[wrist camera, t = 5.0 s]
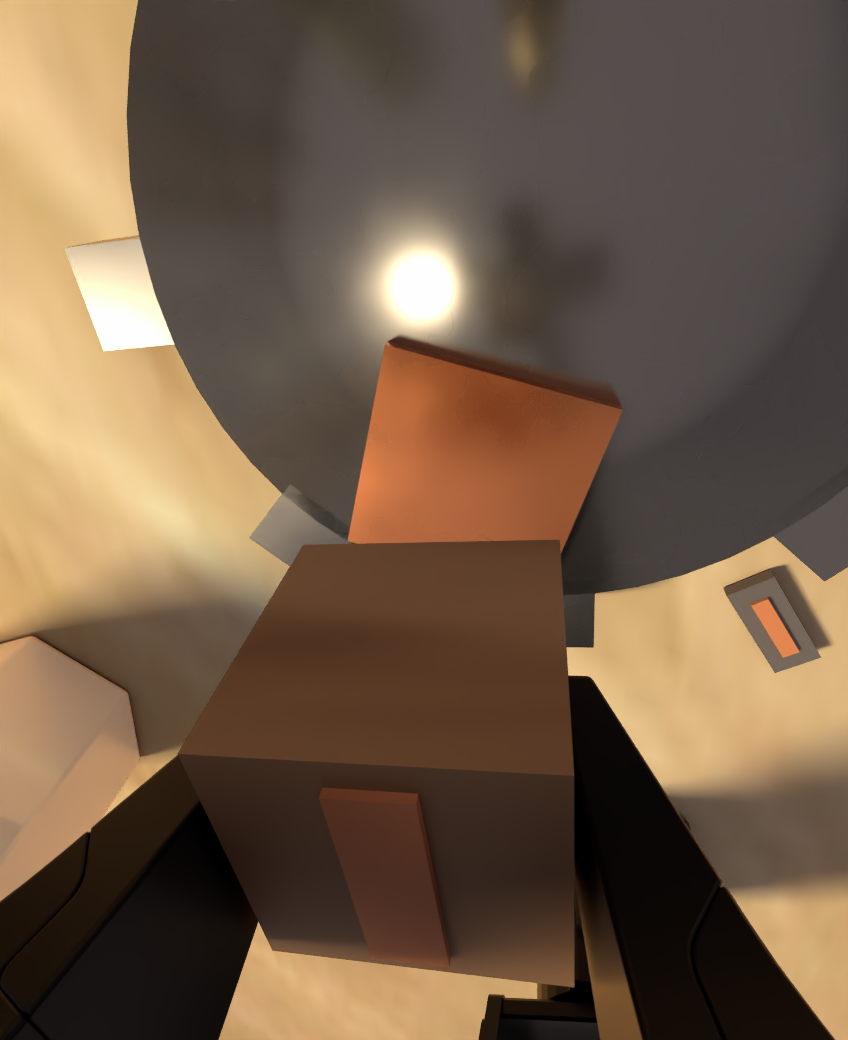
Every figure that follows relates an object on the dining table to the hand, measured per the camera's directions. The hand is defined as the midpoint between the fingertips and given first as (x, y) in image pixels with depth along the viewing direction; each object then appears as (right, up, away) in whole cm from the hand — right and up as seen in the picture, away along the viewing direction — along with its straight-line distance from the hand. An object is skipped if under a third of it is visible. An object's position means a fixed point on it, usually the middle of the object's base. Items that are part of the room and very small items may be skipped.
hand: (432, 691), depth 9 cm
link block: (0, +1, +1) cm, 1 cm away
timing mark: (+11, 0, +10) cm, 14 cm away
